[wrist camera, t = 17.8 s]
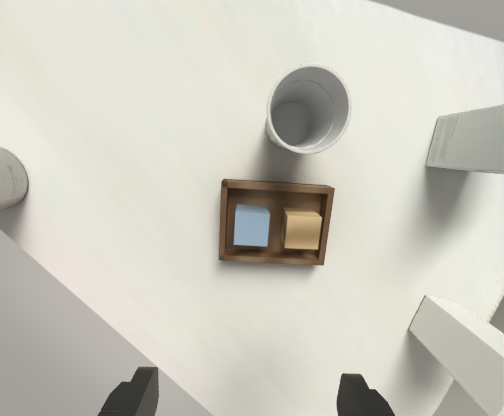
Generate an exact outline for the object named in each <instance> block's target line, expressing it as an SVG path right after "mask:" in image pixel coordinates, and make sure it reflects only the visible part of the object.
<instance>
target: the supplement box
mask: <svg viewBox="0 0 504 416" xmlns="http://www.w3.org/2000/svg"><path fill="white" fill-rule="evenodd" d="M426 166H427V167H437V168H446V169H455V170H465V171H475V172H485V173H497V174H504V104H503V105H497V106H492V107H487V108H481V109H476V110H471V111H465V112H460V113H455V114H449V115H444V116H439V117H438V121H437V124H436V128H435V132H434V135H433V139H432V143H431V147H430V151H429V155H428V158H427V163H426Z"/></svg>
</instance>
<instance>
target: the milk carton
mask: <svg viewBox="0 0 504 416" xmlns="http://www.w3.org/2000/svg"><path fill="white" fill-rule="evenodd" d="M409 330H410V331H411V332H412V333H413V334H414V335H415V336H416V338H417V339H418V340H419V341H420V342H421V343H422V344H423V345H424V346H425V347H426V348H427V349H428V351H429V352H430V353H431V354H432V355H433V356H434V357H435V358H436V359H437V360H438V361H439V362H440V363H441V365H442V366H443V367H444V368H445V369H446V370H447V371H448V372H449V373H450V374H451V375H452V376H453V378H454V379H455V380H456V381H457V382H458V383H459V384H460V385H461V386H462V387H463V388H464V389H465V390H466V392H467V393H468V394H469V395H470V396H471V397H472V398H473V399H474V400H475V401H476V402H477V403H478V405H479V406H480V407H481V408H482V409H483V410H484V411H485V412H486V413H487V414H488V415H489V416H504V334H503V333H502V332H500V331H499V330H497V329H496V328H495V327H493V326H492V325H490V324H489V323H488V322H486V321H485V320H483V319H482V318H480V317H479V316H478V315H476V314H475V313H473V312H472V311H470V310H469V309H468V308H466V307H465V306H463V305H462V304H459V303H455V302H451V301H447V300H444V299H440V298H436V297H432V296H428V295H426V296H425V298H424V300H423V302H422V304H421V306H420V308H419V310H418V312H417V314H416V316H415V318H414V320H413V321H412V323H411V325H410V327H409Z"/></svg>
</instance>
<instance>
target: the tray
mask: <svg viewBox="0 0 504 416" xmlns="http://www.w3.org/2000/svg"><path fill="white" fill-rule="evenodd" d="M334 190H335V188H332V187H330V186H327V185H313V184H297V183H281V182H266V181H250V180H234V179H223V180H222V186H221V213H220V240H219V260H225V261H245V262H265V263H285V264H304V265H324V259H325V252H326V245H327V238H328V231H329V224H330V217H331V210H332V203H333V197H334ZM237 204H244V205H261V206H267V208H268V210H269V213H270V220H269V232H268V244H267V247H266V246H248V245H234V230H235V212H236V207H237ZM282 207H287V208H306V209H313V210H314V211H315V212H316V213H317V214H318V215H320V216H321V217H322V221H321V229H320V237H319V245H318V250H317V249H295V248H285V247H284V245H283V242H282V240H281V237H280V227H281V216H282Z"/></svg>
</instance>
